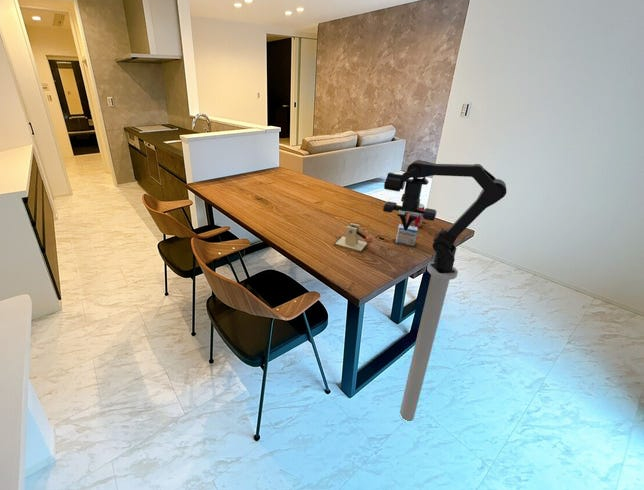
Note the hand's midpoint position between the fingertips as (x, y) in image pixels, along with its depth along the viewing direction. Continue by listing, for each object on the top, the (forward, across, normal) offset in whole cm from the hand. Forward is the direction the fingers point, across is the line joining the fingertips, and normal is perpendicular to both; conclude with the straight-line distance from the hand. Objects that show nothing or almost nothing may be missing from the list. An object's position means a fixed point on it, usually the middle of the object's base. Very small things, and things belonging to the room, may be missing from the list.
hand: (405, 230), depth 120 cm
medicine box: (+13, +1, -14) cm, 19 cm away
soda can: (+13, +1, -37) cm, 39 cm away
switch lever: (+8, +18, 0) cm, 20 cm away
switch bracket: (+13, +21, 0) cm, 25 cm away
